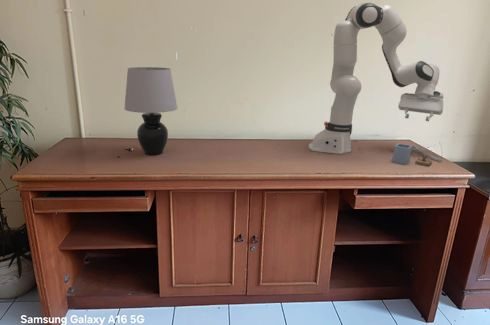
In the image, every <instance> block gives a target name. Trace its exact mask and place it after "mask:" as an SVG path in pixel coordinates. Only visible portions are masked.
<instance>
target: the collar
mask: <svg viewBox="0 0 490 325" xmlns="http://www.w3.org/2000/svg"><path fill="white" fill-rule="evenodd" d="M412 146H413V145H410V144H406V143H405V144H404V143H397V144H396V145H394V148H393V155H392V161H391V162H392V163H395V164H400V165H408V164H409V163H410V160H411V154H412V152H413V151H412Z"/></svg>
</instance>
